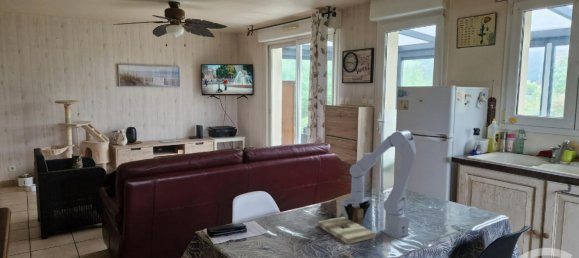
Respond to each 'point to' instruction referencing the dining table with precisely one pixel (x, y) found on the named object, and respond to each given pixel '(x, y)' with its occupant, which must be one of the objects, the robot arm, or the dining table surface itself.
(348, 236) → the slot board
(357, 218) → the walnut flat peg
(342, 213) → the metal round peg
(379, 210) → the dining table surface
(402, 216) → the robot arm
